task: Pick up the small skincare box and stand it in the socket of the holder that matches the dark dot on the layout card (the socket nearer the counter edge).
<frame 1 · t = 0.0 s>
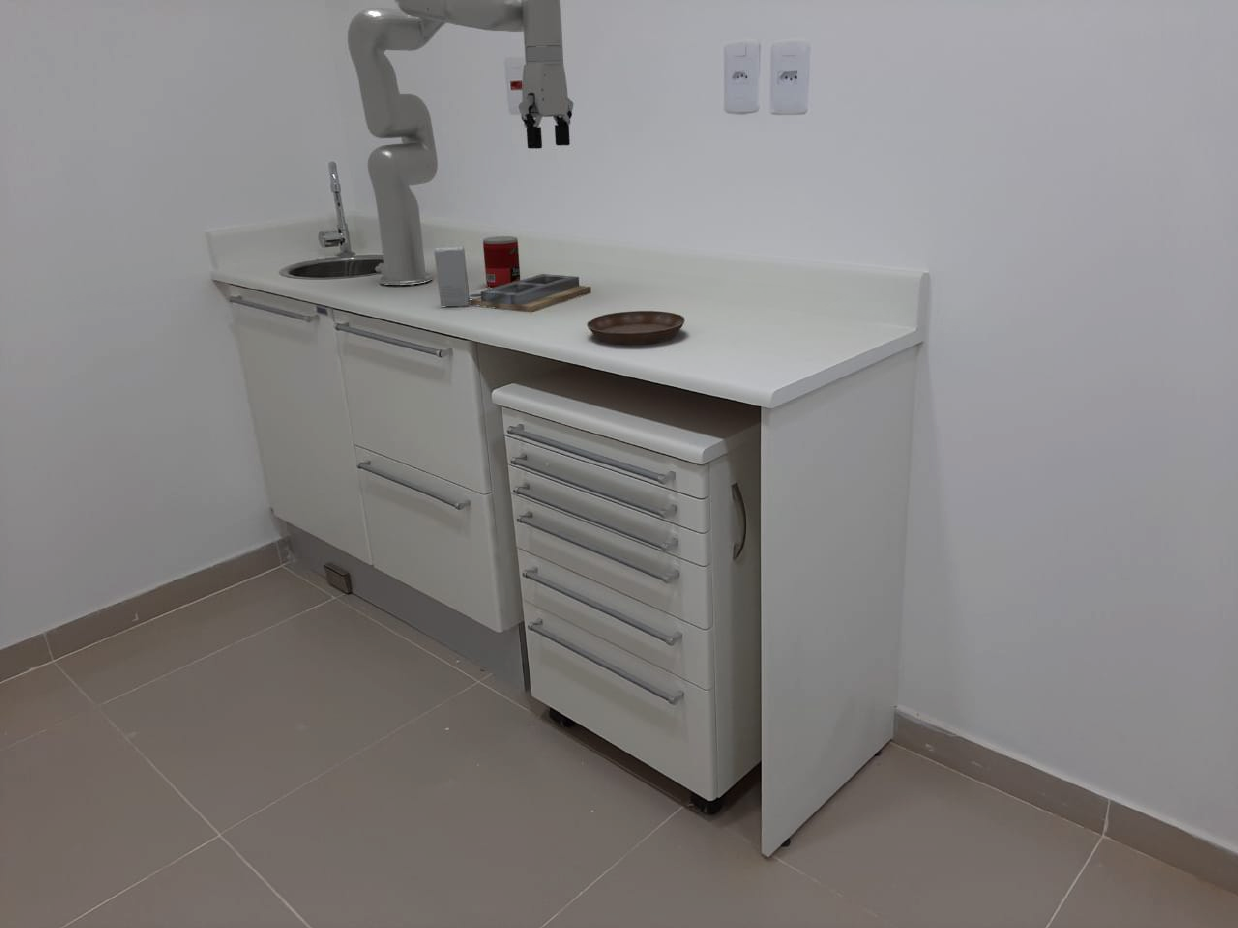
hand: (549, 146, 200), 31 cm above the worktop, tool pointing down, fingers open, 9 cm apart
layout card: (483, 296, 214), on the worktop
skincare box: (455, 306, 206), on the worktop
canned food: (503, 287, 225), on the worktop
plant saucer: (636, 338, 176), on the worktop
holder: (532, 298, 210), on the worktop
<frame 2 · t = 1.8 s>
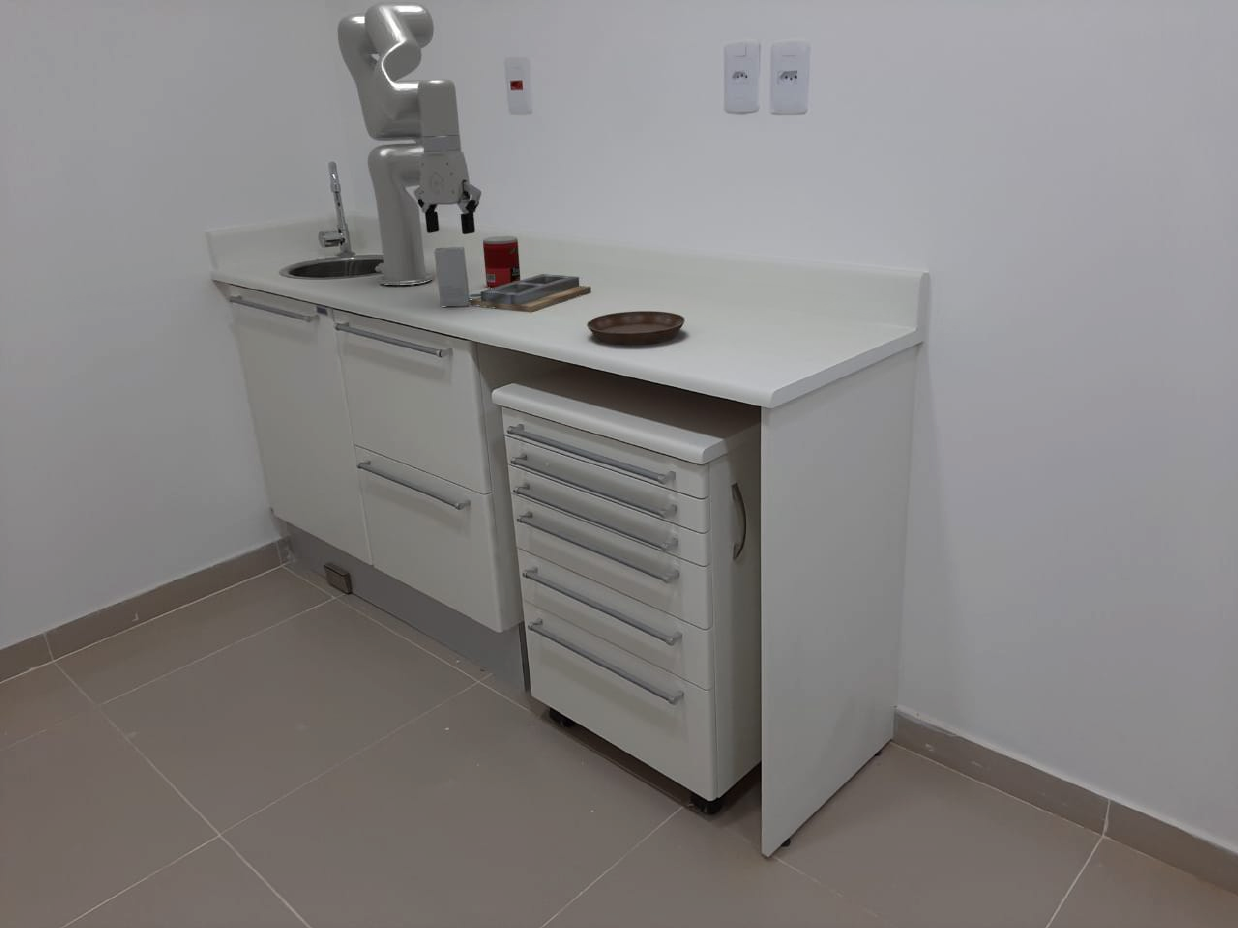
hand: (450, 232, 200), 15 cm above the worktop, tool pointing down, fingers open, 9 cm apart
nothing on the worktop moved.
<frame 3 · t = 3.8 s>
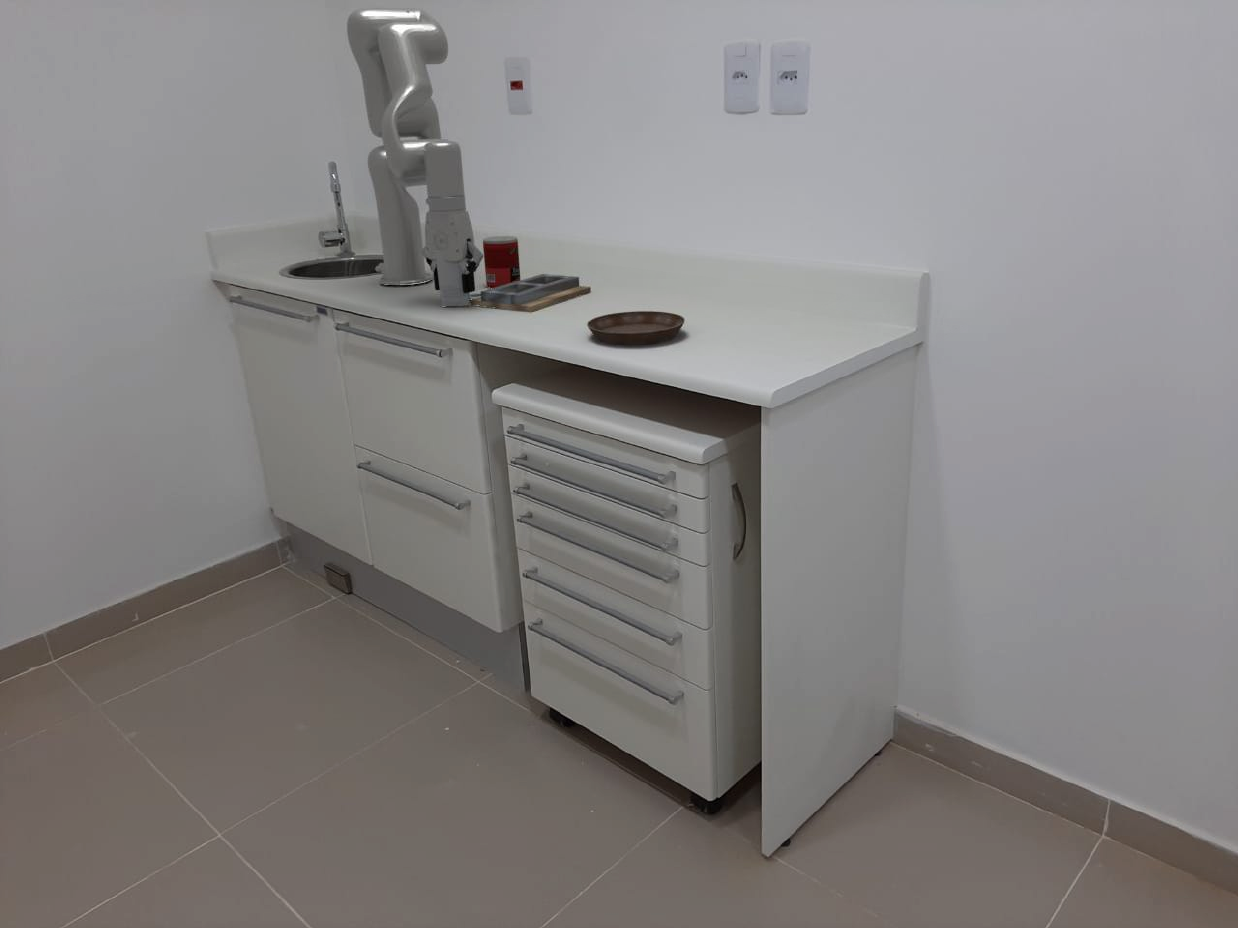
hand: (455, 290, 205), 3 cm above the worktop, tool pointing down, fingers closed on skincare box, 7 cm apart
skincare box: (455, 306, 206), on the worktop, touching gripper
everything else where it was.
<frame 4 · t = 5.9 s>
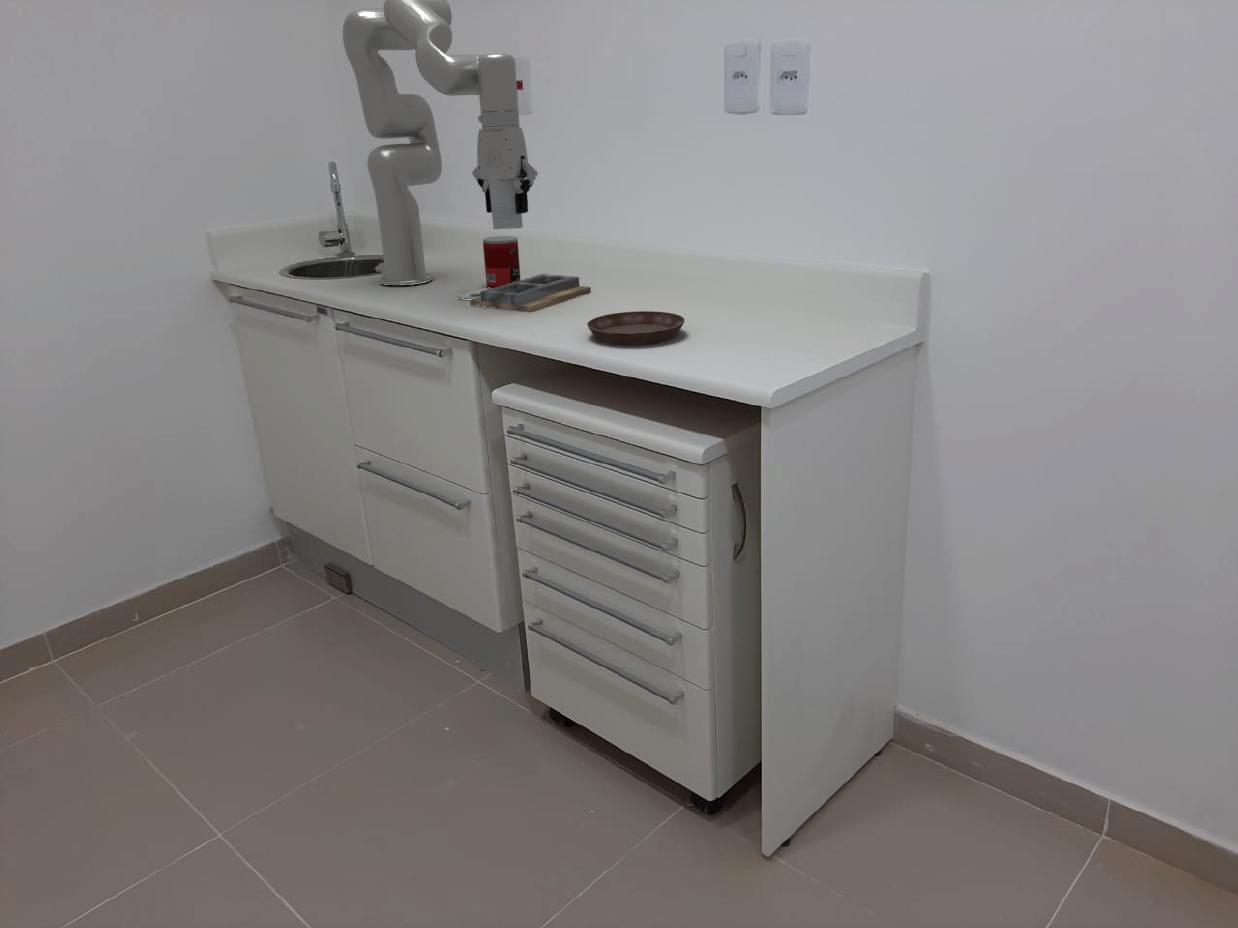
hand: (507, 211, 199), 19 cm above the worktop, tool pointing down, fingers closed on skincare box, 7 cm apart
skincare box: (507, 229, 200), point 16 cm above the worktop, touching gripper
everything else where it was.
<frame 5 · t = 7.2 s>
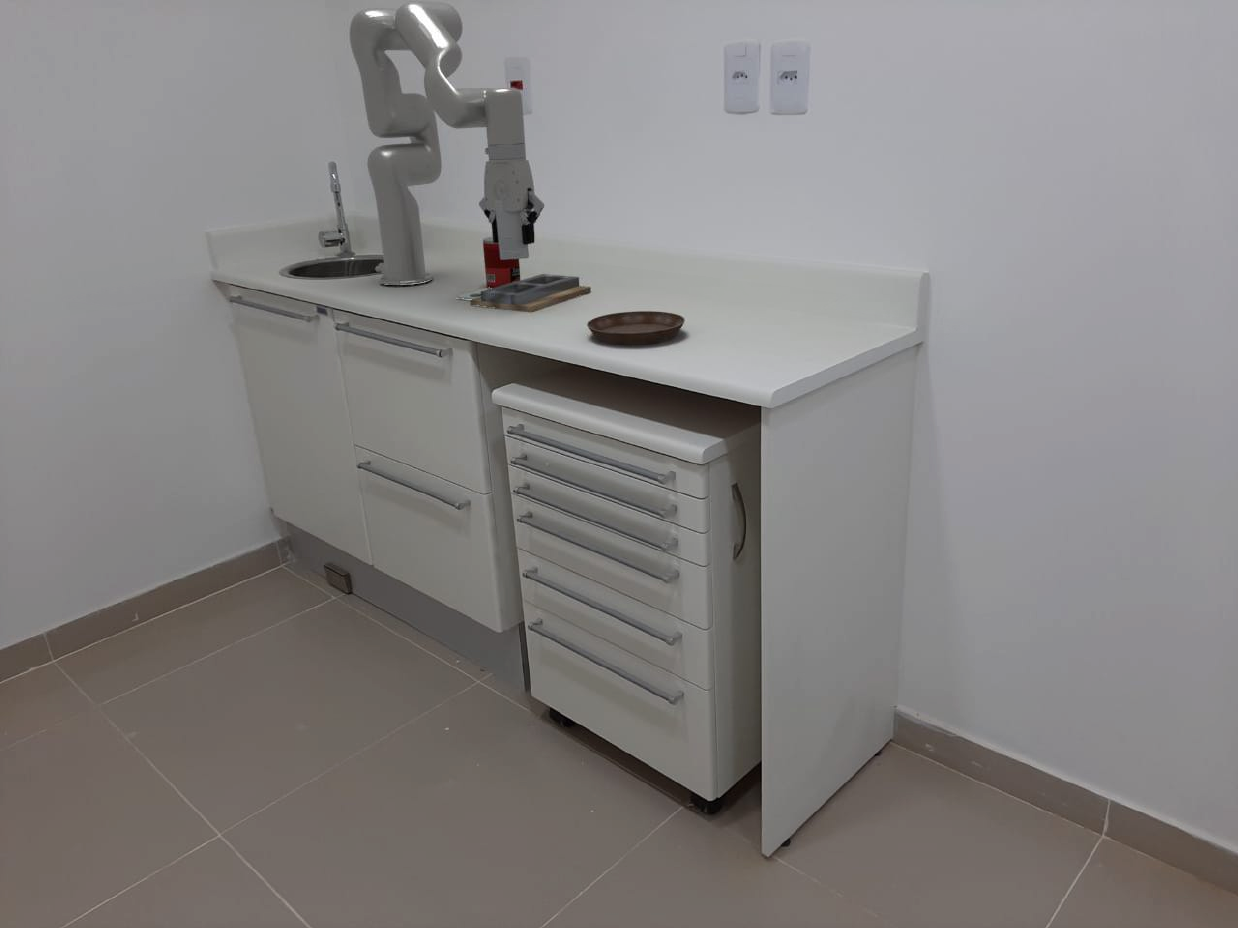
hand: (513, 242, 201), 13 cm above the worktop, tool pointing down, fingers closed on skincare box, 7 cm apart
skincare box: (514, 259, 202), point 9 cm above the worktop, touching gripper
everything else where it was.
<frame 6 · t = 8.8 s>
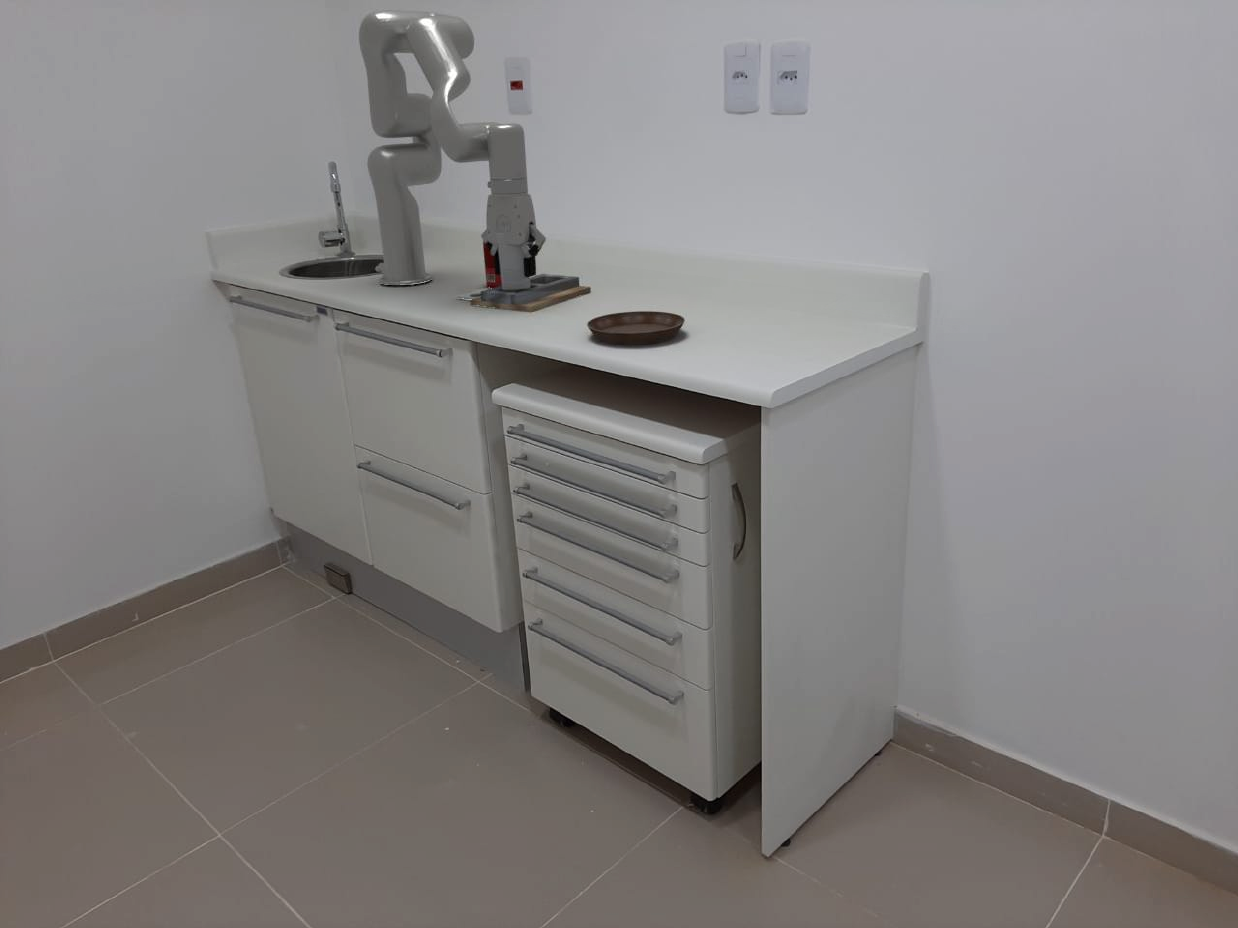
hand: (515, 274, 204), 6 cm above the worktop, tool pointing down, fingers closed on skincare box, 7 cm apart
skincare box: (515, 289, 205), point 3 cm above the worktop, touching gripper, holder
everything else where it was.
when the fingers open (6 cm above the worktop, at t = 9.4 s): skincare box stays where it is, resting on holder.
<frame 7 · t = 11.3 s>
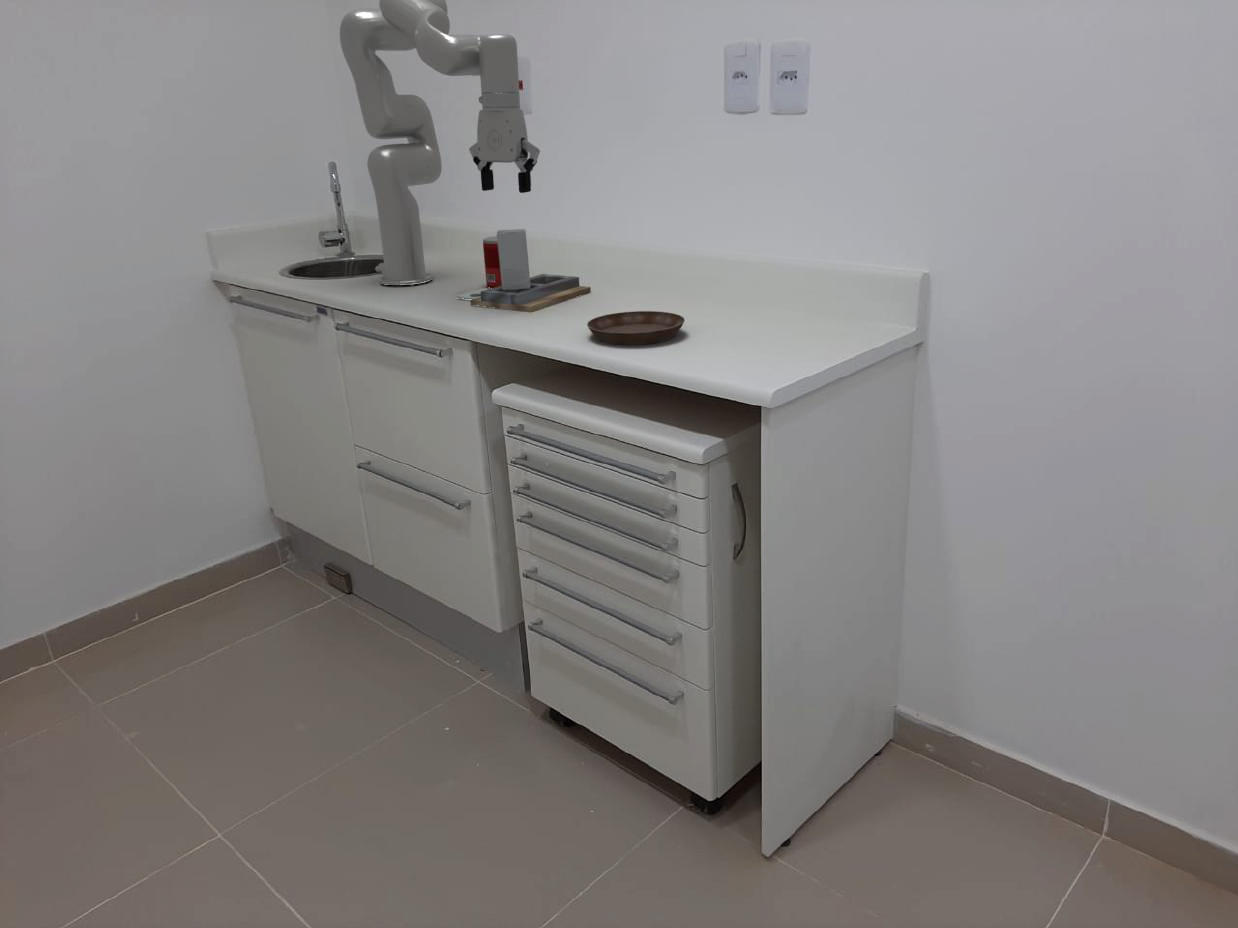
hand: (506, 191, 199), 23 cm above the worktop, tool pointing down, fingers open, 9 cm apart
skincare box: (515, 289, 205), point 3 cm above the worktop, touching holder
everything else where it was.
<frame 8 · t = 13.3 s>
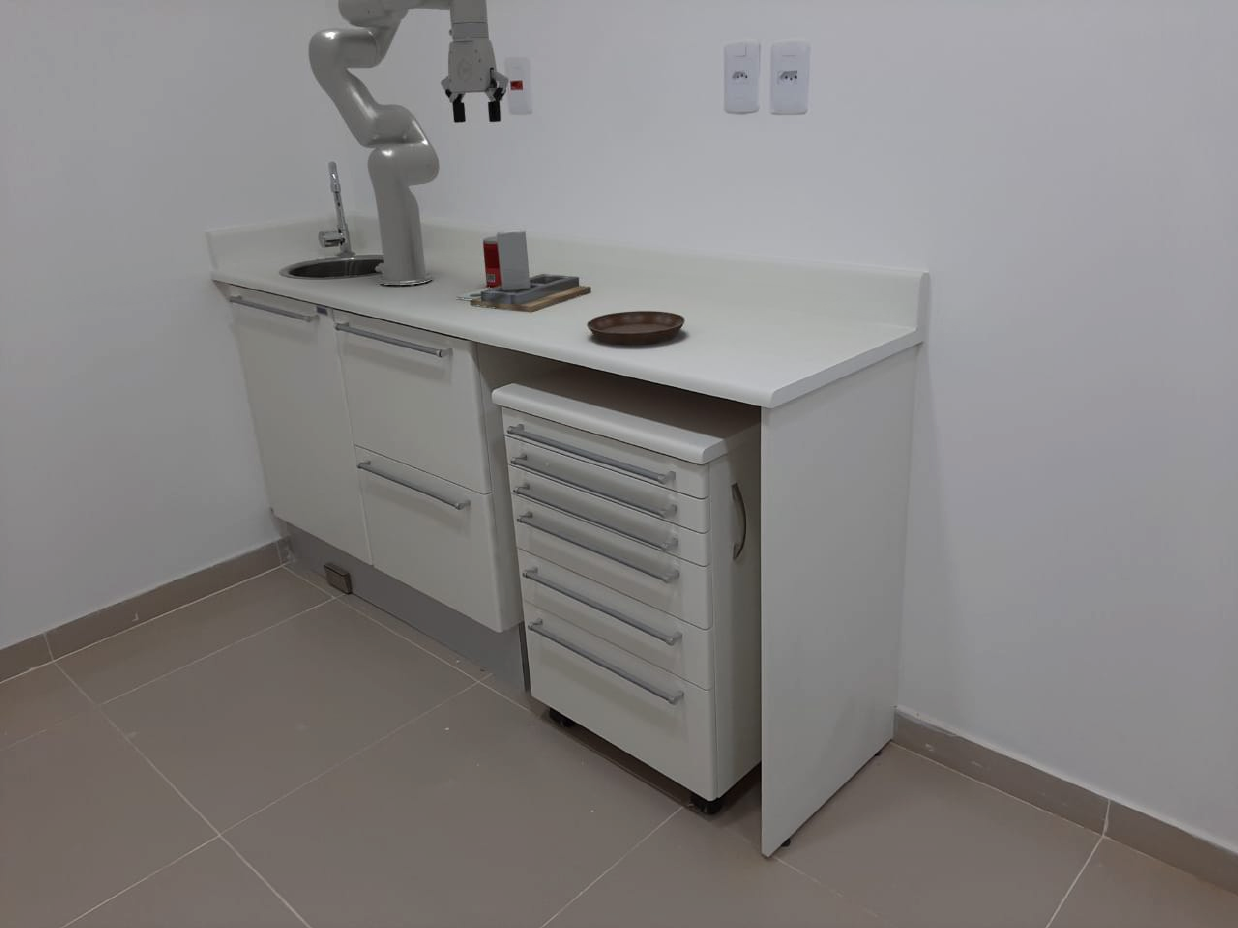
hand: (477, 122, 205), 36 cm above the worktop, tool pointing down, fingers open, 9 cm apart
nothing on the worktop moved.
at the end: skincare box 0.3 cm from the target spot on the holder, point 3.0 cm above the holder's base; skincare box tilted 0°; the gripper is holding nothing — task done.
